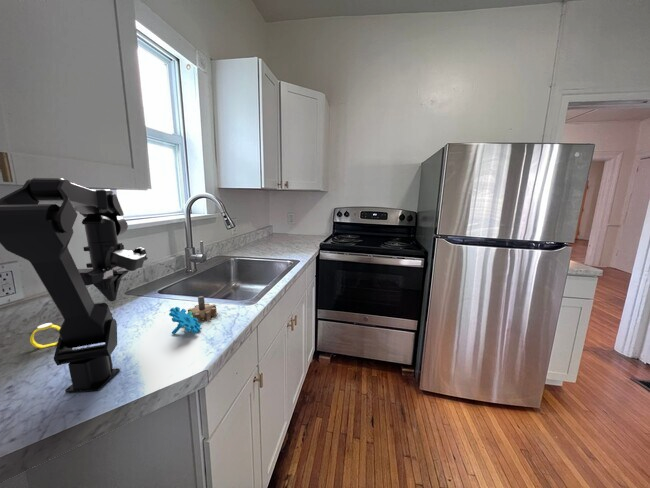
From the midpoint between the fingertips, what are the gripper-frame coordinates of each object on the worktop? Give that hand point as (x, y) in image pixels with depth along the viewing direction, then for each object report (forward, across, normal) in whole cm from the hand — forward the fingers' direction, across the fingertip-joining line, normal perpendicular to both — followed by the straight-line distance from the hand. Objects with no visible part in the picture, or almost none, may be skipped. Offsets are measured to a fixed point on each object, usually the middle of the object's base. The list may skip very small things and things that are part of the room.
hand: (112, 300), depth 68 cm
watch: (+12, 0, +18) cm, 22 cm away
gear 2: (+12, +15, -16) cm, 25 cm away
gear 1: (+12, +5, -15) cm, 20 cm away
